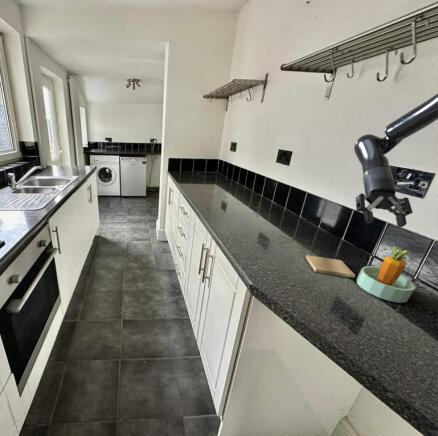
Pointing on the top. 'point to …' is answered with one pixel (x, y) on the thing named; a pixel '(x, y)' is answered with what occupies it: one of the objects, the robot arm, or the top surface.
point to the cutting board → (329, 266)
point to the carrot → (392, 267)
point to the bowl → (394, 293)
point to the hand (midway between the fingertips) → (385, 224)
